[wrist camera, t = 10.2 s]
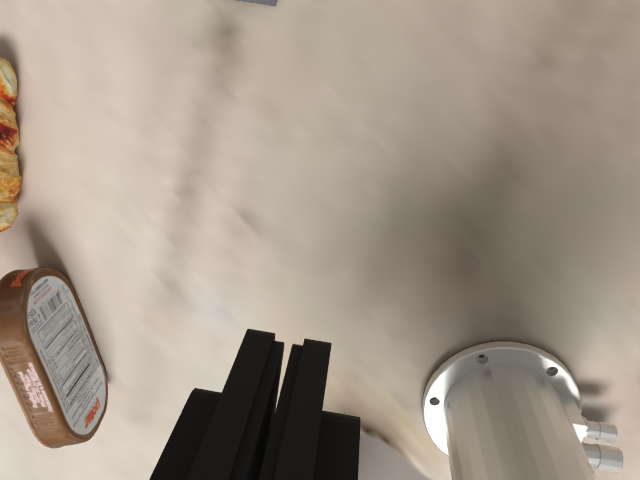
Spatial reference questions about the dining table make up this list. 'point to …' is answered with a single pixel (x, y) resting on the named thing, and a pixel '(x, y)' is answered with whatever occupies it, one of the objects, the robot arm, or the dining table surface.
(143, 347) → the dining table surface
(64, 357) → the tin
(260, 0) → the mat
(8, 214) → the croissant
